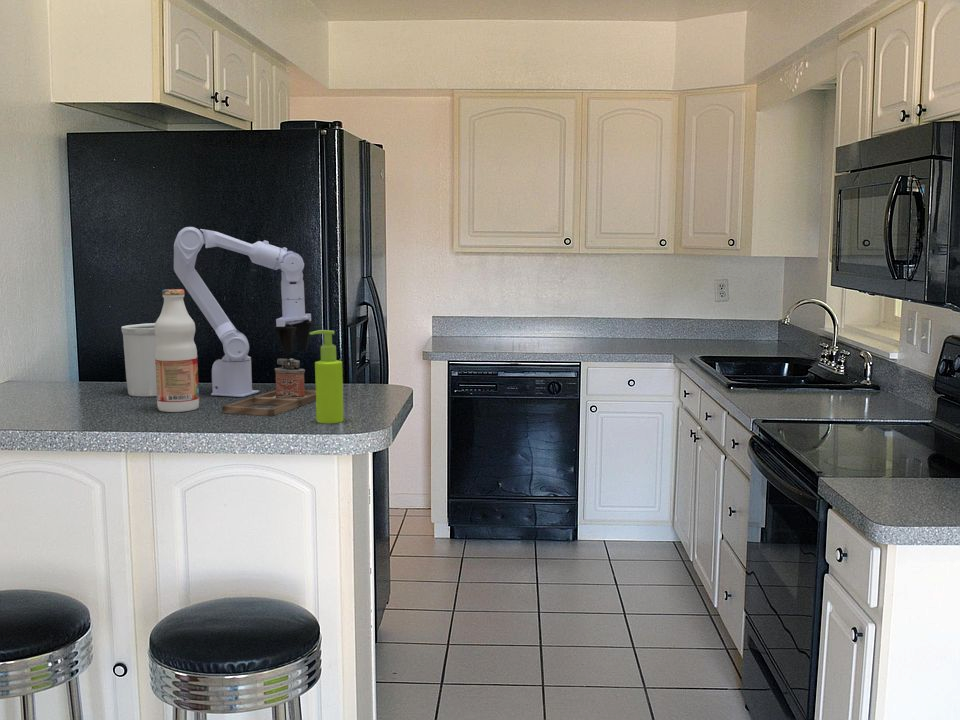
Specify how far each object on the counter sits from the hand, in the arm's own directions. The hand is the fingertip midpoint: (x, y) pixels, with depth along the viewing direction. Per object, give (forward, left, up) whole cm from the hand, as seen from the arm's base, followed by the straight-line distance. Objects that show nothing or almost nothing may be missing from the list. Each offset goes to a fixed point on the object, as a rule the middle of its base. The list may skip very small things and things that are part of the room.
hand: (295, 351), depth 254 cm
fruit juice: (-14, -30, -11) cm, 35 cm away
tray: (+5, -18, -10) cm, 21 cm away
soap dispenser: (+26, -32, -11) cm, 43 cm away
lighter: (+5, -12, -10) cm, 16 cm away
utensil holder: (-34, -12, -11) cm, 38 cm away
